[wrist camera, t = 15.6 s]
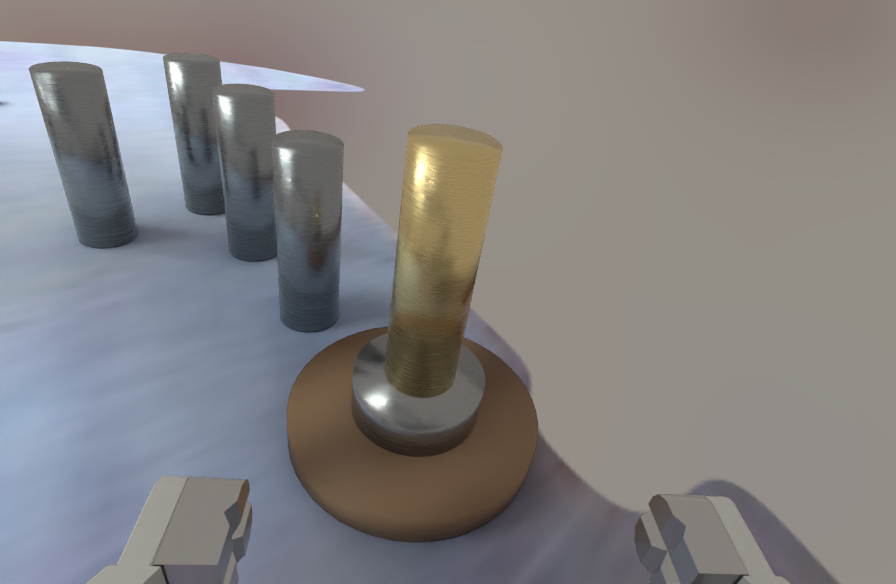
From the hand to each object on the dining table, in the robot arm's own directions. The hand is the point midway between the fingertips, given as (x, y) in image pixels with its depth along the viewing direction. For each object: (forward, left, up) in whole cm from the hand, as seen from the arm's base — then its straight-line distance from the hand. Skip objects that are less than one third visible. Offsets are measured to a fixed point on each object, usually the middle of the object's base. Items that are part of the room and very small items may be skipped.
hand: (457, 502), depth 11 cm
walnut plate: (-7, +7, -10) cm, 14 cm away
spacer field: (-26, +8, -10) cm, 28 cm away
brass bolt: (-7, +7, -8) cm, 13 cm away
